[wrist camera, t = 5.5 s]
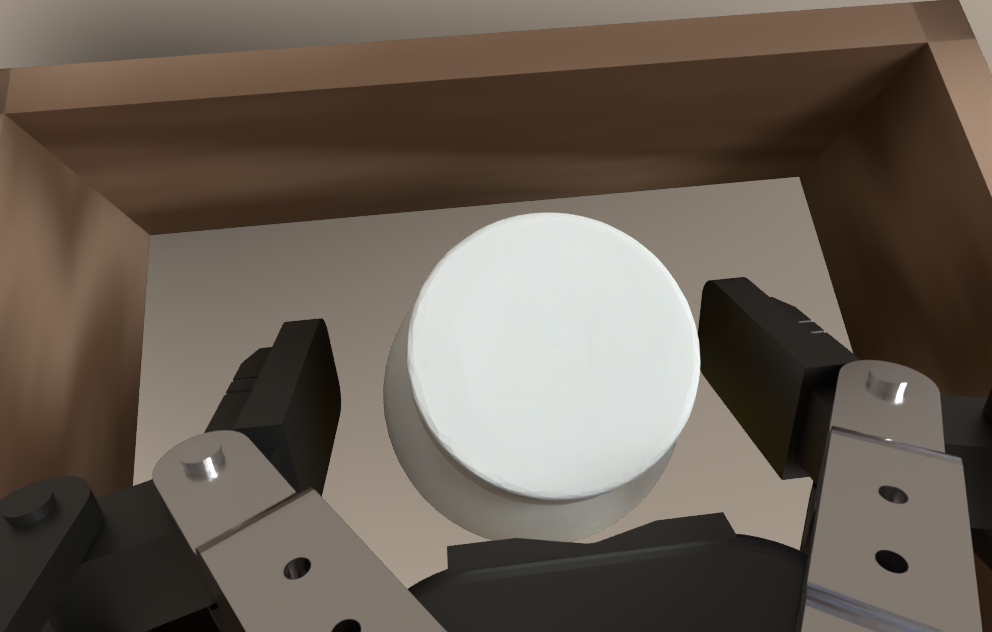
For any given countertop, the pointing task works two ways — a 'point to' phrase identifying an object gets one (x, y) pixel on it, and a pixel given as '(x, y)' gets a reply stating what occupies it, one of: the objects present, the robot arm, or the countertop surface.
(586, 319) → the supplement bottle
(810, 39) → the wooden frame
